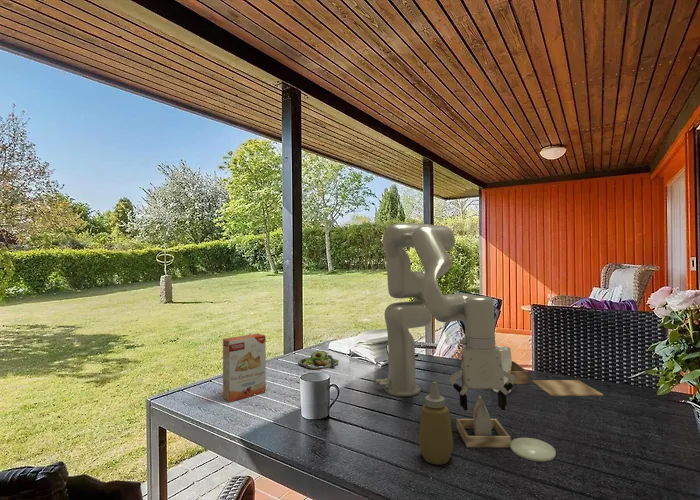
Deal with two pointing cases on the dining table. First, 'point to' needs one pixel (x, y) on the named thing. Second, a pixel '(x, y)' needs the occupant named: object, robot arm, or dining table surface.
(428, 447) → the squeeze bottle
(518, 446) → the coaster
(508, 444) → the holder
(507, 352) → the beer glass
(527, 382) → the display tray
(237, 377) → the cracker box
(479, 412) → the gable top carton
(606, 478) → the dining table surface
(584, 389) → the wooden board
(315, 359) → the salad plate
